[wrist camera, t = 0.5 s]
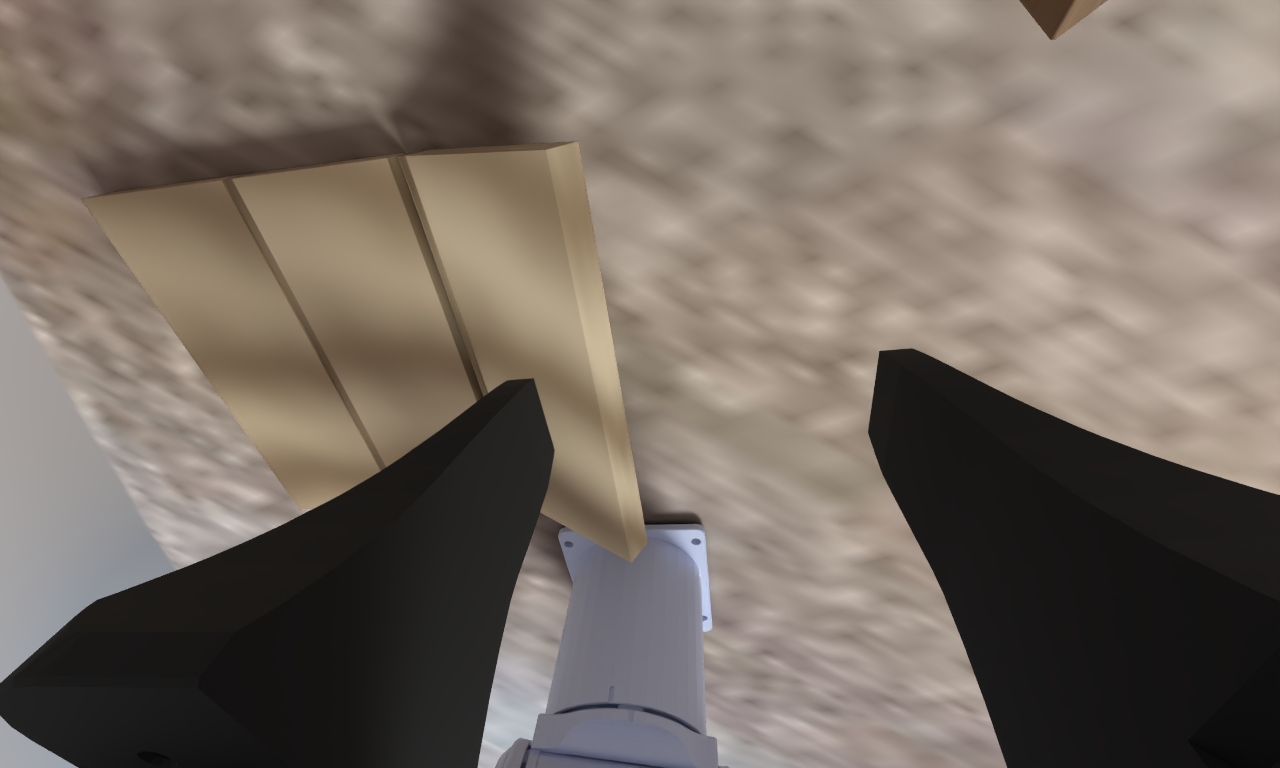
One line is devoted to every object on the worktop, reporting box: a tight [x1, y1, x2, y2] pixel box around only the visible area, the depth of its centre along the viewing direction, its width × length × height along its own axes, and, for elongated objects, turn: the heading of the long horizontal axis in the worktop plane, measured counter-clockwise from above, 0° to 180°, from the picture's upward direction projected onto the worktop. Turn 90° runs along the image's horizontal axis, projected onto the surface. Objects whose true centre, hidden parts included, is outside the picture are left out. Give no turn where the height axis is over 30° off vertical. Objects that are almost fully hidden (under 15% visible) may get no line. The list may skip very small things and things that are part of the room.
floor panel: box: [81, 153, 484, 509], centre depth 22 cm, size 16×12×1 cm
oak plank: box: [398, 141, 648, 563], centre depth 19 cm, size 16×7×1 cm
